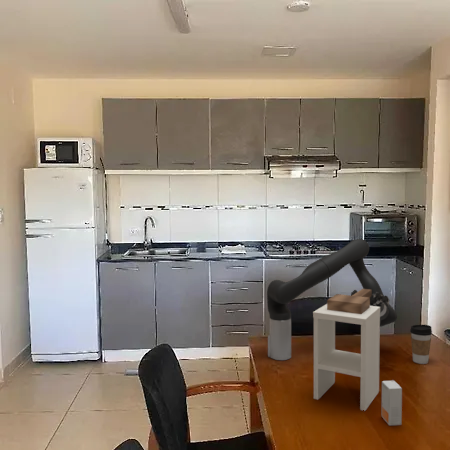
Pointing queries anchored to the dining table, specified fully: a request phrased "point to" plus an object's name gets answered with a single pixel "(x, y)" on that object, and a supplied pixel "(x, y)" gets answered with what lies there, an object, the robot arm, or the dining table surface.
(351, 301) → the walnut mallet
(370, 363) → the shelf stand
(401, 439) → the dining table surface
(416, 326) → the coffee cup
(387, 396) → the skincare box
